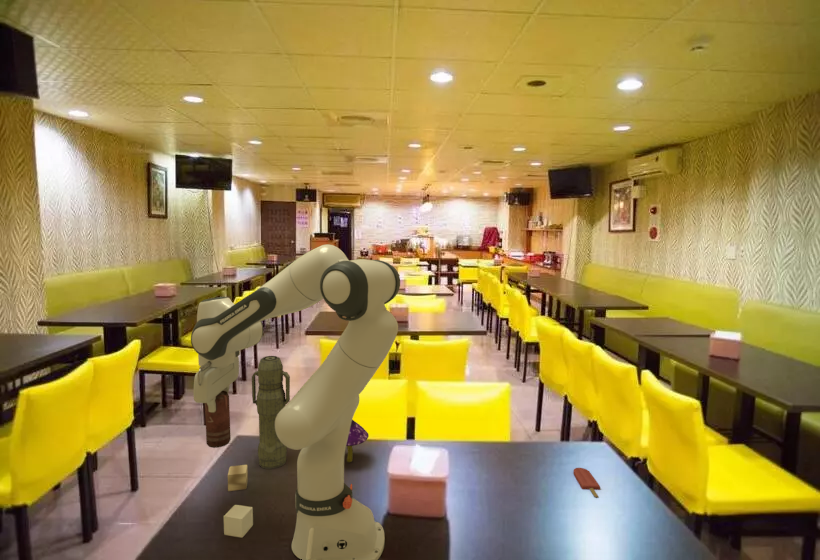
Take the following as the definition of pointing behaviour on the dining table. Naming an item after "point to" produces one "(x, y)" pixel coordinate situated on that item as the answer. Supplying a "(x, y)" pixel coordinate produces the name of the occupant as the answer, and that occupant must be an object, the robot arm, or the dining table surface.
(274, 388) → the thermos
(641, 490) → the dining table surface
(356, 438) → the decorative mushroom
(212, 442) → the can
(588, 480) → the popsicle
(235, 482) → the maple block
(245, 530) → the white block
